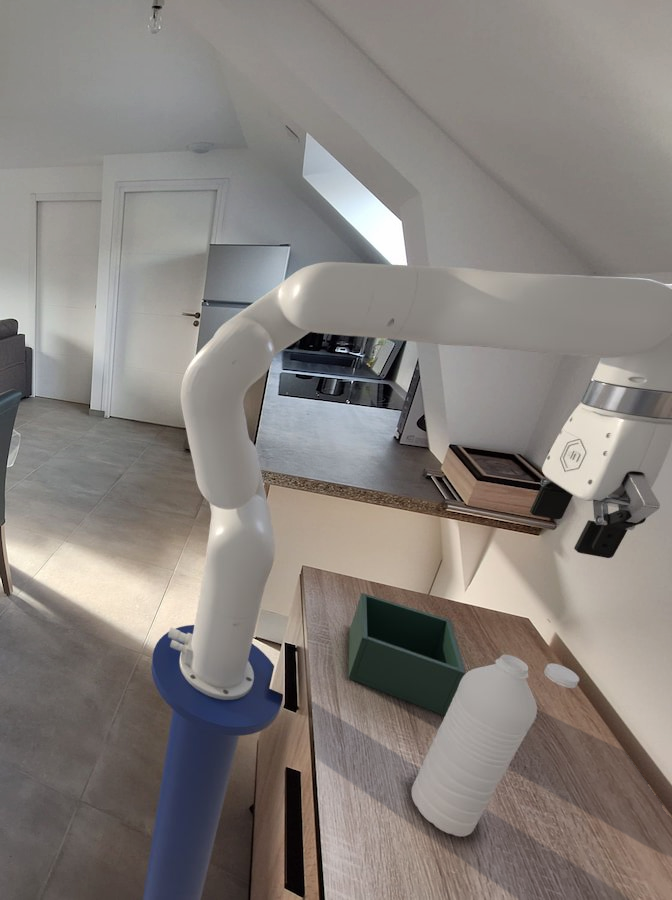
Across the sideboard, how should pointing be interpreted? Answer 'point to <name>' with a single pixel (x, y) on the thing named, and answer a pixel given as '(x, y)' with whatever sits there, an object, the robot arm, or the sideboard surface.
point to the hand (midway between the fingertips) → (566, 533)
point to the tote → (405, 653)
